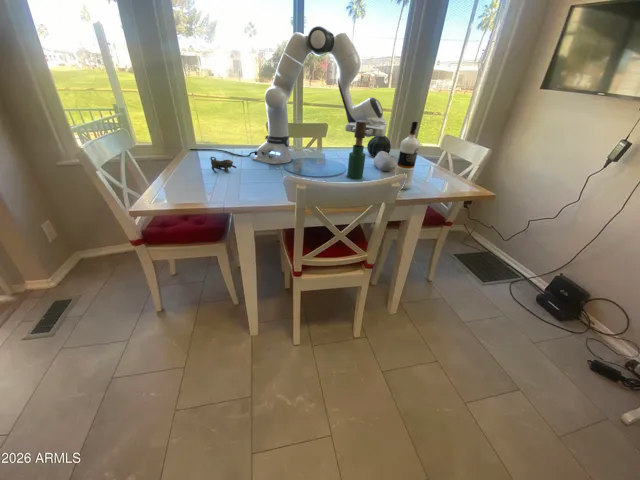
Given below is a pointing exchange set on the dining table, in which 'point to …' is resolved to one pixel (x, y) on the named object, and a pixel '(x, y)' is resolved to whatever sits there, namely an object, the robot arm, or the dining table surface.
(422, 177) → the dining table surface
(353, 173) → the bottle
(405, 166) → the vodka
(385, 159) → the decorative stone
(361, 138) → the stopper
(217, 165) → the dog figurine
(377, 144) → the squash
